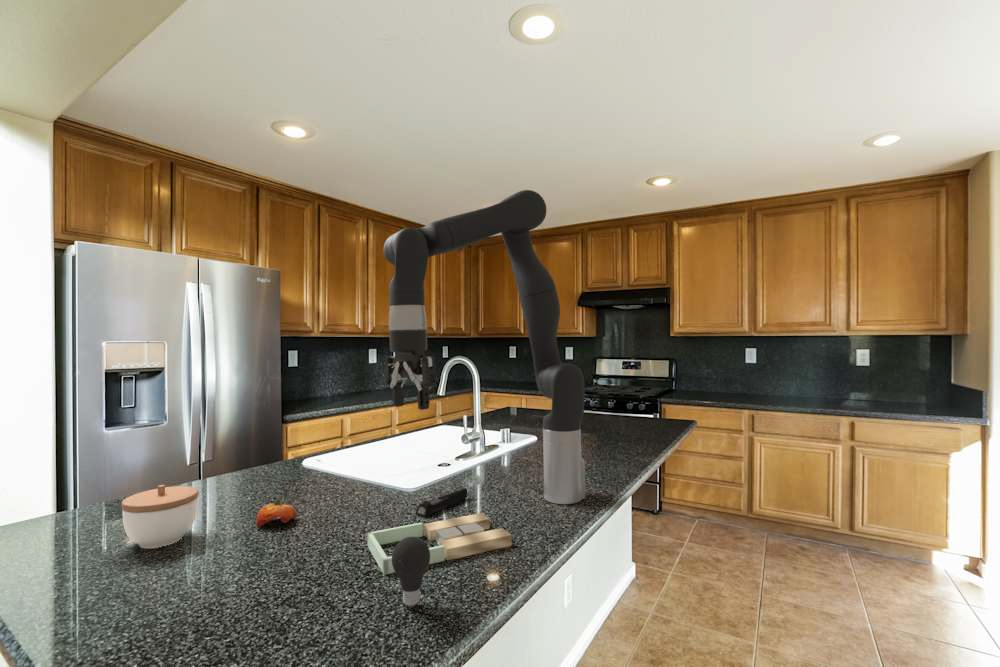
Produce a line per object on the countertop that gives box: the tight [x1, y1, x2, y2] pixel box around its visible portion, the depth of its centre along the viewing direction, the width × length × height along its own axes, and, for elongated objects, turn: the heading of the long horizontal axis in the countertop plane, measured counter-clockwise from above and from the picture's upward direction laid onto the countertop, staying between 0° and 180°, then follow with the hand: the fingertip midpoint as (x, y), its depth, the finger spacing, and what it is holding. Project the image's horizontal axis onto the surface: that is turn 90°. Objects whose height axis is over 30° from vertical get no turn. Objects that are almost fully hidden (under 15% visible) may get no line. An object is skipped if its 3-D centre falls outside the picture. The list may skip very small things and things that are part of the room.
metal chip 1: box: [435, 527, 463, 546], centre depth 93 cm, size 4×4×2 cm
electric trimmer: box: [415, 487, 469, 519], centre depth 114 cm, size 4×16×3 cm, turn 143°
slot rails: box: [422, 512, 513, 561], centre depth 95 cm, size 13×14×2 cm
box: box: [366, 522, 446, 576], centre depth 90 cm, size 11×13×2 cm
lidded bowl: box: [121, 484, 200, 550], centre depth 97 cm, size 13×13×11 cm
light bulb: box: [391, 537, 430, 608], centre depth 72 cm, size 6×6×10 cm
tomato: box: [255, 498, 298, 530], centre depth 105 cm, size 8×7×7 cm
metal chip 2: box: [457, 523, 485, 536], centre depth 95 cm, size 4×4×2 cm
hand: (410, 407), depth 99 cm, fingers open, 8 cm apart
